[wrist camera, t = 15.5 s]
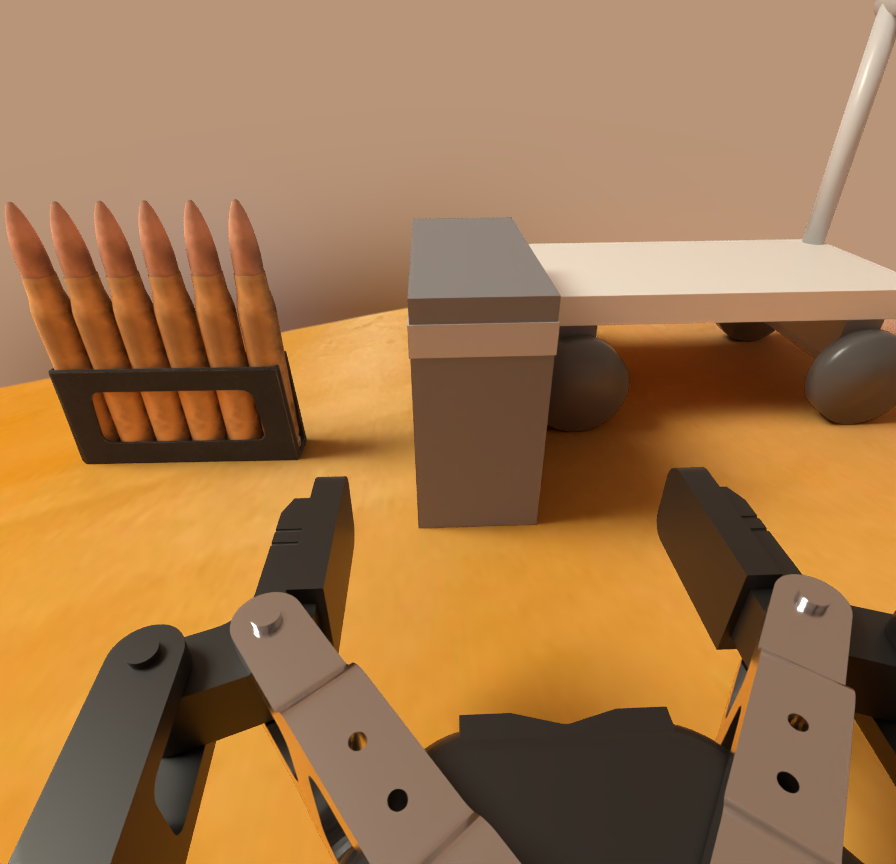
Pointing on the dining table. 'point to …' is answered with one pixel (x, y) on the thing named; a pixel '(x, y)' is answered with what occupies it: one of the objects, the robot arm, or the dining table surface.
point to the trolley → (738, 292)
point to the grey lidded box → (479, 371)
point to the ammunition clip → (161, 342)
